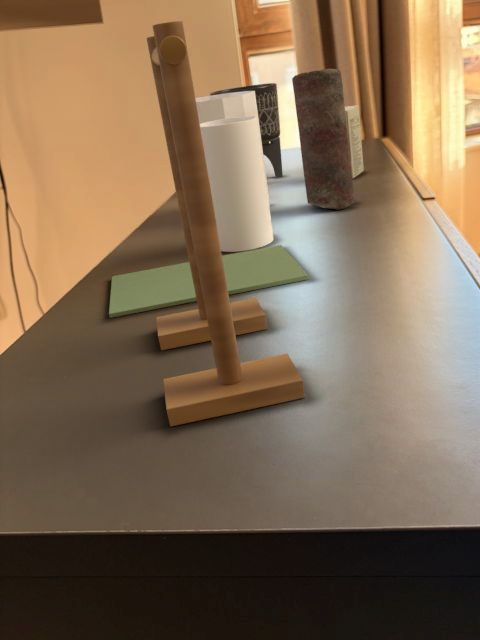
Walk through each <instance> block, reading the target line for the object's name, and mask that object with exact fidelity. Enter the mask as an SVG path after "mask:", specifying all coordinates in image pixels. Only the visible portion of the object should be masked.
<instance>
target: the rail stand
mask: <svg viewBox="0 0 480 640" xmlns="http://www.w3.org/2000/svg"><path fill="white" fill-rule="evenodd" d="M152 32H153V35H152V36H147V37H146V43H147V48H148V49H147V50H148V54H149V58H150V59H149V60H150V63H151V69H152V74H153V81H154V85H155V90H156V96H157V102H158V105H159V111H160V116H161V121H162V127H163V133H164V137H165V142H166V147H167V153H168V158H169V163H170V168H171V174H172V179H173V184H174V189H175V195H176V200H177V205H178V210H179V216H180V221H181V227H182V231H183V236H184V241H185V247H186V253H187V257H188V262H189V263H190V268H191V273H192V279H193V284H194V289H195V294H196V300H197V301H196V306H197V308H196V309H191V310H186V311H180V312H175V313H171V314H165V315H161V316H156V317H155V319H156V320H155V321H156V329H157V337H158V342H159V346H160V350H161V351H166V350H171V349H176V348H181V347H185V346H190V345H191V346H192V345H195V344H201V343H206V342H211V347H212V353H213V358H214V364H215V367H214V368H210V369H206V370H205V369H204V370H200V371H195V372H191V373H187V374H182V375H177V376H172V377H171V376H170V377H167V378H163V379H162V383H163V392H164V400H165V408H166V413H167V417H168V418H167V419H168V423H169V426H170V427H176V426H181V425H184V424H189V423H193V422H199V421H203V420H204V421H205V420H208V419H213V418H217V417H221V416H227V415H231V414H235V413H241V412H245V411H251V410H254V409H258V408H263V407H267V406H273V405H277V404H281V403H287V402H291V401H296V400H300V399H305V397H306V394H305V392H306V391H305V385H304V379H303V378H302V376H301V374H300V373H299V371H298V369H297V368H296V365H295V364H294V362H293V360H292V359H291V357H290V355H289V353H288V352H287V353H282V354H277V355H273V356H268V357H263V358H259V359H254V360H253V359H252V360H248V361H244V362H241V361H240V355H239V349H238V343H237V338H236V336H239V335H240V336H241V335H246V334H249V333H254V332H255V333H256V332H260V331H265V330H268V328H269V327H268V321H267V315H266V313H265V310H264V309H263V307H262V306H261V304H260V302H259V300H258V298H257V297H252V298H246V299H242V300H236V301H232V302H230V295H228V289H227V283H226V277H225V271H224V265H223V259H222V256H223V254H222V251H221V247H220V241H219V235H218V229H217V224H216V218H215V212H214V206H213V200H212V194H211V188H210V182H209V176H208V170H207V164H206V158H205V152H204V146H203V140H202V135H201V129H200V123H199V117H198V111H197V105H196V99H195V98H196V93H195V88H194V81H193V75H192V70H191V64H190V59H189V52H188V46H187V41H186V34H185V28H184V23H183V20H176V21H167V22H161V23H156V24H153V25H152Z"/></svg>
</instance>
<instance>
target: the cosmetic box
mask: <svg viewBox="0 0 480 640" xmlns="http://www.w3.org/2000/svg"><path fill="white" fill-rule="evenodd" d="M345 115H346V125H347V134H348V144H349V153H350V162H351V169H352V179H355V178H356V177H357V176H359V175H360V174H362V173H363V172H364V169H365V168H364V158H363V157H364V156H363V145H362V144H363V143H362V130H361V117H360V105H359V104H357V105H347V106H345Z"/></svg>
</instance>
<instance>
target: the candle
mask: <svg viewBox="0 0 480 640" xmlns="http://www.w3.org/2000/svg"><path fill="white" fill-rule="evenodd" d="M342 79H343V78H342V71H341V70H340V69H338V68H326V69H320V70H311V71H308V72H307V71H306V72H301V73H298V74H295V75H294V76H293V77H292V78H291V81H292V82H291V83H292V89H293V95H294V96H293V97H294V105H295V112H296V119H297V120H296V121H297V129H298V134H299V135H298V136H299V143H300V144H299V145H300V152H301V161H302V169H303V177H304V185H305V193H306V200H307V204H309V205H312V206H314V207H320V208H321V209H331V210H335V211H336V210H345V209H347V208H348V207H350V206H351V205H353V204H354V203H355V189H354V178H352V169H351V162H350V153H349V144H348V134H347V125H346V115H345V107H346V106H345V95H344V85H343V80H342Z"/></svg>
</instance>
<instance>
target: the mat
mask: <svg viewBox="0 0 480 640" xmlns="http://www.w3.org/2000/svg"><path fill="white" fill-rule="evenodd" d="M222 259H223V265H224V271H225V277H226V283H227V289H228V295H229V296H231V295H235V294H241V293H245V292H250V291H256V290H261V289H266V288H271V287H276V286H281V285H286V284H292V283H296V282H301V281H307V280H309V279H310V278H309V274H308V273H307V272H306V271H305V270H304V269H303V268H302V266H301V265H300V264H299V263H298V262H297V260H295V259H294V258H293V256H291V254H290V253H289V252H288V251H287V249H285V247H284V246H283V245H282V244H278V245H273V246H268V247H267V246H266V247H260V248H256V249H252V250H246V251H239V252H233V253H230V254H224V255H222ZM110 283H111V284H110V295H109V308H108V316H109V318H110V319H113V318H116V317H122V316H127V315H132V314H137V313H143V312H149V311H154V310H157V309H158V310H159V309H163V308H168V307H173V306H178V305H184V304H189V303H195V302H197V300H196V294H195V289H194V284H193V279H192V273H191V268H190V263H189V261H186V262H181V263H177V264H176V263H175V264H171V265H165V266H160V267H155V268H150V269H143V270H139V271H138V270H137V271H135V272H127V273H124V274H123V273H122V274H118V275H112V276H111V282H110Z"/></svg>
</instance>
